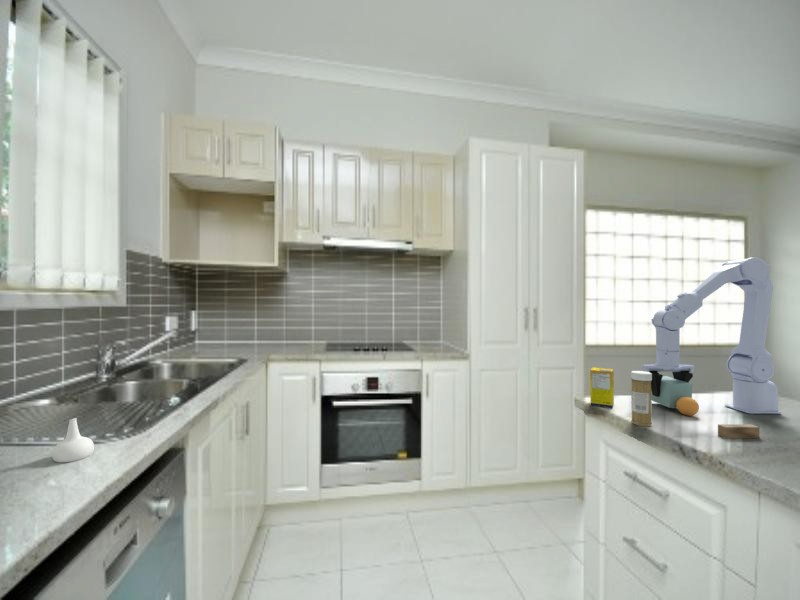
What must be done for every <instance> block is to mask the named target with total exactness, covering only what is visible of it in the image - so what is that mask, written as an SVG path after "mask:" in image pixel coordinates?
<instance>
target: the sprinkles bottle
mask: <svg viewBox="0 0 800 600" xmlns="http://www.w3.org/2000/svg"><path fill="white" fill-rule="evenodd" d="M630 380H631V390H630V393H631V399H630V400H631V401H630V404H631V406H630V407H631V421H630V422H631V423H632V424H633V425H636V426H639V427H651V426H652V425H653V422H652V410H653V405H652V402H653V401H652V400H651V380H652V374H651V373H650V372H645V371H642V370H632V371H630Z"/></svg>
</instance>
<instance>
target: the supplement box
mask: <svg viewBox="0 0 800 600" xmlns="http://www.w3.org/2000/svg"><path fill="white" fill-rule="evenodd" d="M589 373H590V375H589V377H590V379H589V380H590V384H589V385H590V387H589V389H590V391H589V392H590V394H589V395H590V406H595V407H601V408H610V409H613V408H614V405H615V404H614V401H615V400H614V399H615V393H614V390H615V386H614V378H615V377H614V368H605V367H595V366H592V368H590V371H589Z"/></svg>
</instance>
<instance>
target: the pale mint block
mask: <svg viewBox="0 0 800 600" xmlns="http://www.w3.org/2000/svg"><path fill="white" fill-rule="evenodd" d="M682 397H690V398H692V399H693V383H691V382H685V381H681V380H678V379H675V378H674V377H671V376H668V375H663V377H662V380H661V385H660V396H659V397H656V396H654V395H653V394H652V390H651V401H652V402H655V403H656V404H659V405H661V406H664V407H667V408H669V409H670V408H671V409H677V406H676V403H677V401H678V400H679V399H680V398H682Z"/></svg>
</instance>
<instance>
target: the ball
mask: <svg viewBox="0 0 800 600" xmlns="http://www.w3.org/2000/svg"><path fill="white" fill-rule="evenodd" d="M676 406H677V408H676V409H677V411H678V412H679V413H681V414H682V415H685V416H690V417H691V416H694V415H696V414H697V413H699V410H700V405H699V403H698V401H696V400H695V399H694V398H693V397H692V398H690V397H682V398H680V399H679V400H678V401H677V403H676Z"/></svg>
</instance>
